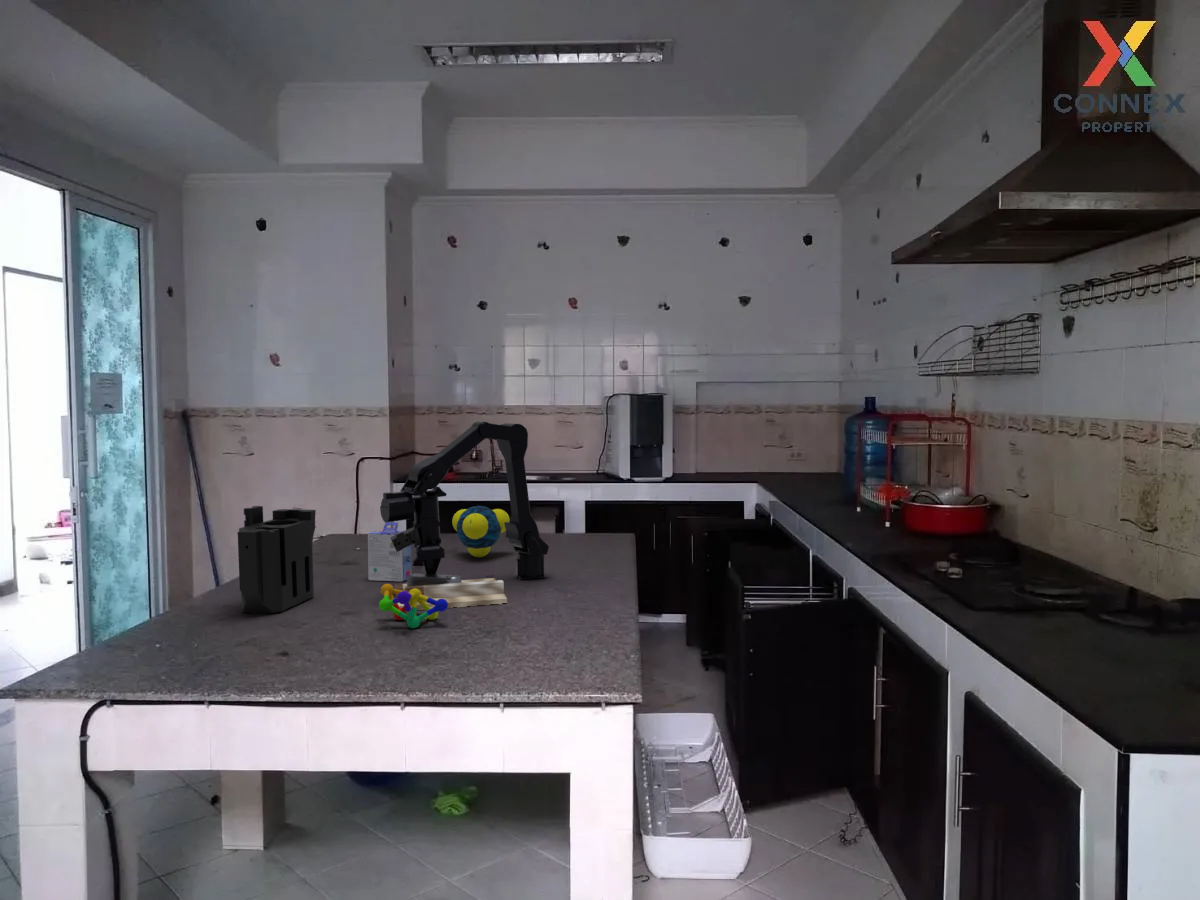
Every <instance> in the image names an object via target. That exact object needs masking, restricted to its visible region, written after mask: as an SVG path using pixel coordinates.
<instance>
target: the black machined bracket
mask: <svg viewBox="0 0 1200 900" xmlns="http://www.w3.org/2000/svg"><path fill="white" fill-rule="evenodd" d="M316 514H317V513H316V509H297V508H296V509H294V508H293V509H292V508H289V509H288V508H286V509H285V508H281V509H275V510H272V519H269V520H264V507H263V506H262V505H253V506H251V507H245V508H243V515H244V517H245V518H244V519H245V520H243V526H242V527H238V531H237V550H238V551H237V552H238V555H237V556H238V576H239V578H238V579H239V582H238V583H239V591H240V594H241V610H242V611H243V612H244V613H245V612H255V613H254V614H266V613H275V614H278V613H277V612H280V613H282V612H284V611H287V610H288V608H289V609H291V608H293V607H295V606H297V605H299V603H300V604H301V602H302V603H304V602H306V601H308V600H311V599H312V598H313V597H314V595H315V582H314V581H315V579H314V551H313V548H314V547H313V545H314V543H313V541H314V535H315V531H316ZM303 601H304V602H303ZM294 605H295V606H294ZM292 606H293V607H292ZM290 607H291V608H290ZM286 609H287V610H286Z"/></svg>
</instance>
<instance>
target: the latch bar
mask: <svg viewBox="0 0 1200 900" xmlns="http://www.w3.org/2000/svg"><path fill="white" fill-rule="evenodd" d="M461 580H462V575H459V574H438V573H436V574H426V573H412V574H410V575H408V576H407V580H406V584H407V586H419V585H434V584H450V583H461Z"/></svg>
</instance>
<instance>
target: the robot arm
mask: <svg viewBox="0 0 1200 900" xmlns="http://www.w3.org/2000/svg"><path fill="white" fill-rule="evenodd" d="M486 439H488V440H494V441H496V443H497V447H498V450H499V451H500V454H501V455H502V457H503V458H504V459H503V460H504V461H505V462H504V463H505V469H506V479H507V486H508V496H509V503H510V504H509V505H510V511H511V515H510V517H509V518H510V521H509V522H505V528H506V531H505V538H507V539H508V542H509V543H510V545H512V547H513V550H514V552H517V558H516V559H515V574H516V576H517V577H518V579H519V580H522V581H523V580H535V578H538V579H545V577H546V575H545V555H547V554H548V551H549V547H550V546H549V545H548V544H547V543H546V542H545V540H543V539H542V538H541V535H540V532H539V529H538V527H539V526H538V523H537V522H536V520H535V519H534V517H533V515H532V513H531V507H530V499H529V498H530V497H529V489H528V483H527V482H528V481H527V472H526V465H525V456H526V452H527V449H528V445H529V433H528V429H527V427H525V426H524V425H523V424H522V423H521V424H520V423H507V422H506V423H502V424H496V423H491V422H490V423H489V422H488V421H480V420H479V421H475V422H473V423H472V425H471V426H470V427H469V428H468V429H466V430H465V431H464V432H463V433H461V434H460V435H459V436H458V437H455V439H454V440H453V441H451V442H450V443H449V444H448V445H446V446H445V447H444V448H442V450H440V451H439V452H438V453H436V454H434V455H432V456H429V457H428V458H427V457H426V458H425V459H423V460H421V461H419V462H418V463H415V464H414V465H412V466H411V467H410V469H409V471H408V477H407V479H406V481H405V482H404V484H403V485H402V487H401V489H400V491H395V492H389V491H388V492H383V494H382V499H381V501H380V502H381V503H380V507H379V510H380V516H381V518H382V521H383V522H384V524H385V523H387V522H400V521H406V520H411V518H412V517H413V516H414V517H413V518H414V521H413V522H412V524H413V526H412V527H410V528H408V529H406V530H402V531H403V532H401V533H398V534H396V535H394V536H392V537H391V541H392V543H393V545H394V547H395V550H396V552H398V551H401V550H402V549H403V548H405V547H407V546H410V545H411V546H412V545H413V548H416V549H415V555H416V560H417V561H421V562H422V563H423V567H424V570H425V574H437V571H438V568H439V565H440V563H441V560H442V559H444V558H446V555H445V554H446V553H445V548H444V546H443V545H442V537H441V527H440V526H441V521H440V510H439V507H440V506H439V498H443V497H446V496H447V493H446V492H445V491H444V490H443V489H441V488H440V487H441V486H438V485H439V484H440V483H442V481H443V480H444V479H445V477H446V476H447V474H448V472H449V471H450V469H451V468H452V467H453V465H455V464H456V463H457V462H459V460H461V459H462V458H463V457H464V456H465V457H466V455H467V454H468V453H470V451H472V450H473V449H475V448H476V447H477V446H478V445H480V443H482V442H483V441H485V440H486ZM546 578H547V577H546Z"/></svg>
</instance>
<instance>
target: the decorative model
mask: <svg viewBox="0 0 1200 900" xmlns="http://www.w3.org/2000/svg"><path fill="white" fill-rule="evenodd" d="M380 592H381V594H382V596H383V598H382V599H381V600H379V603H378V608H379V609H380V611H383V612H388V611H390V612H391V613H393V617H394V619H395V620H397V621H400V620H401V621H404V620H405V621H406V624H407V626H408V627H409V628H410V629H416V628H419V626H420V625H421V622H423V621H425V620H427V619H428V620H429V621H433V620H436V619H437V618H438V616H439V612H442V613H443V612H445V611H447V609H449V608H448V602H447V601H446V600H445V599H439V600H434V599H431V598H429V597H426V596H424V595H422V592H421V591H420V590H418V589H416V588H414V589H411V590H410V591H409V592H407V591H402V590H397V589H395V588H394V586H393V585H392V584H391V583H384V584H383V585H382V586H381V588H380ZM396 594H397V595H398V596H397V598H396V597H394V595H396ZM417 602H418V603H419V604H420V605H421V606H422V607H423V608H424V609H425V610H424V611H425V612H423V613H421V614H419V615H417V611H418V610H417ZM425 602H428V603H430V604H433V605H435V606H434V607H431V608H430V607H429V606H428V605H427V604H426V603H425ZM397 603H400V604H404V606H403V607H402V608H400V607H399V605H398V604H397ZM411 605H412V610H411V607H410V606H411Z"/></svg>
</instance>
